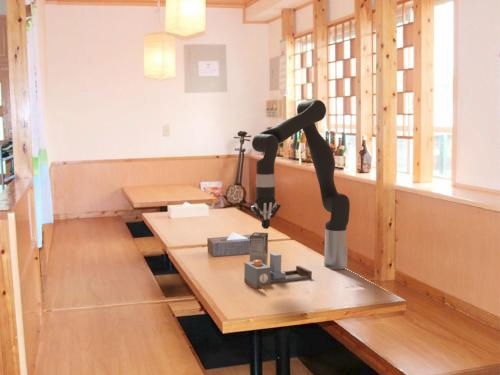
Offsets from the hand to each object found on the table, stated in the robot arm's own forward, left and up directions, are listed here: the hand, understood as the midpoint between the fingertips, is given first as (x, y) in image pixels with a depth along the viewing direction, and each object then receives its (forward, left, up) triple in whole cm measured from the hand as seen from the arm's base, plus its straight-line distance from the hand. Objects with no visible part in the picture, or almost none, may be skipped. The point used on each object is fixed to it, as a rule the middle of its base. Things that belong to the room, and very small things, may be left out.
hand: (265, 228), depth 256 cm
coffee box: (-6, -17, -22) cm, 29 cm away
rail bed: (-5, +2, -22) cm, 23 cm away
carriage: (-4, +2, -21) cm, 21 cm away
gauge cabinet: (+4, +2, -21) cm, 21 cm away
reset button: (+4, +2, -15) cm, 16 cm away
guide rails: (-8, +2, -21) cm, 22 cm away
